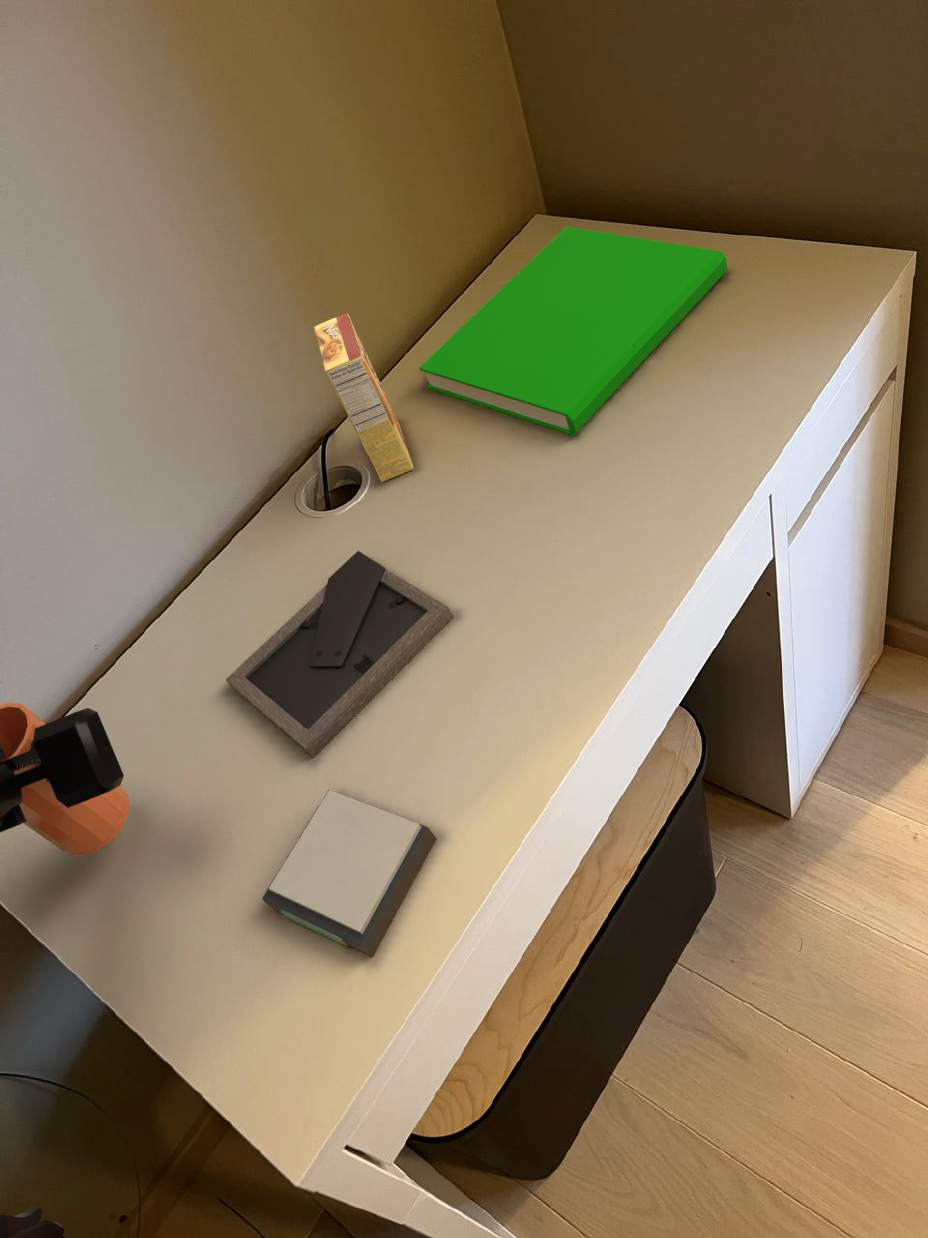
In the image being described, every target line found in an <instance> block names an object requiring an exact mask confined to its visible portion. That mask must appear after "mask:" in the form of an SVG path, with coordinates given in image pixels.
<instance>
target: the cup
mask: <svg viewBox="0 0 928 1238" xmlns="http://www.w3.org/2000/svg"><path fill="white" fill-rule="evenodd" d="M45 724H47V723H46V722H45V721H43V719H41V717H39V716H38V715H37V714H35V712H33V711H32V710H31V709H29V708H28V707H27V706H26V705H25V704H23V703H19V702H18V703H17V702H8V703H4V704H0V743H1V745H2V748H3V750H4V752H5V755H6V758H5V759H4V760H1V762H2V761H5V760H7V759H10V758H12V757H15V756H17V755H20V754H22V753H25V752H27V751H29V750H30V748H31V742H32V741H33V739H34V730H35V728H37V727H40V726H42V725H45ZM39 759H40V758H39ZM39 765H40V764H39V762H37V763H36V762H35V764H32V765H31V764H30V766H27V767H26V766H25V768H22V769H21V768H20V770H17V771H16V769H15V772H14V773H15V775H16V774H19V773H21V772H24V771H27V770H29V769H32V768H34V767H37V766H39ZM21 790H22V804H21V806H20V807H21V809H22V812H23V814H24V816H25V819H26V822H24V823H23V825H25V826H26V827H27V828H29V829H31V830H32V831H34V832H35V833H36V834H38V835H39V836H41V837H42V838H44V839H45V840H47V842H49V843H51V845H54V846H55V847H57V848H58V849H59V850H61V851H62V852H65V853H66V854H68V855H71V856H74V857H84V856H88V855H92V854H94V853H96V852H98V851H100V850H102V849H103V848H105V847H106V846H107V845H109V844H110V843H111V842H112V841H113V840H114V839H115V838H116V837H117V836H118V834H119V833H120V832H121V830H122V829H123V827H124V825H125V823H126V822H127V819H128V815H129V812H130V798H129V794H128V792H127V790H126V789H125V788H124V787H123V786H121V785H120V786H119V787H117V788H115V789H113V790H111V791H110V792H107V793H105V794H102V795H100V796H97V797H95V798H92V799H89V800H87V801H84V802H82V803H79V804H77V805H74V806H72V807H69V808H67V807H66V806H65V805H63V804H62V803H61V802H60V801H58V800H57V798H56V796H55V794H54V791H53V789H52V787H51V784H50V783H47V781H46V778H45V779H42V780H40V781H37V782H35V783H32V784H30V785H27V786H25V787H22V788H21Z"/></svg>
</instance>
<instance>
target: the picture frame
mask: <svg viewBox="0 0 928 1238" xmlns="http://www.w3.org/2000/svg"><path fill="white" fill-rule="evenodd" d="M453 618H454V616H453V614H452V612H451V610H450V607H449V606H447V605H446V604H444V603H443V602H441V601H439V600H437V599H436V598H434V597H433V596H431V595H430V594H428V593H426V592H425V591H423V590H421V589H419V588H418V587H417V586H414V585H412V584H411V583H410V582H408V581H406V580H404V579H403V578H401V577H400V576H399V575H397V574H395V573H393V572H391V571H390V570H388V569H386V567H385V566H383V565H382V564H380V563H378V562H377V561H375V560H374V559H373V558H371V557H369V556H368V555H367V554H366V555H365V553H363V552H361V551H360V550H357V551H356V552H355V553H354V554H353V555H352V556H350V557H349V558H348V559H347V561H345V562H344V563H343V564H342V565H341V566H340V567H339V568H338V569H337V570H336V571H334V572H333V574H331V576H329V577H328V578H327V581H326V585H324V586H323V587H322V588H321V589H320V590H319V591H318V592H317V593H316V594H315V595H314V596H313V597H311V599H310V600H308V601H307V602H306V604H304V605H303V606H302V607H301V608H299V610H297V612H295V614H293V616H291V617H290V619H288V620H287V621H286V622H285V623H284V624H283V625H282V626H281V627H279V629H278V630H277V631H276V632H275V633H273V634H272V635H271V636H270V637H269V638H268V639H267V640H266V641H265V642H264V643H263V644H262V645H261V646H259V647H258V648H257V649H256V650H255V651H254V652H253V653H252V654H251V655H250V656H249V657H248V658H247V659H246V660H245V661H243V663H241V664H240V665H239V666H238V667H237V668H236V669H235V670H233V672H232V673H231V674H229V676H228V677H226V678H225V681H226V683H227V684H229V686H230V687H231V688H232V689H233V690H234V691H235V692H236V693H238V695H240V696H241V697H242V698H243V699H244V700H246V701H247V702H248V703H249V704H250V705H251V706H253V708H255V709H256V710H257V711H258V712H259V713H261V715H262V716H264V718H266V719H268V721H270V723H272V724H273V725H274V726H275V727H277V728H278V729H279V730H280V731H281V732H283V733H284V734H285V735H286V736H287V737H288V738H290V740H291V741H293V742H294V743H295V744H296V745H298V746H299V747H300V748H301V749H302V750H303V751H304V752H305V753H307V754H308V755H309V756H310V757H311V758H313V759H314V758H315V757H317V756H318V754H319V753H320V752H322V750H324V748H325V747H327V745H329V743H330V742H331V741H332V740H333V739H334V738H336V736H338V734H339V733H340V732H341V731H342V730H343V729H344V728H345V727H346V726H348V724H349V723H350V722H351V721H352V720H353V719H354V718H356V716H357V715H358V714H359V713H360V712H361V711H362V710H363V709H364V708H365V707H366V706H367V705H368V704H369V703H370V702H371V701H372V700H373V699H374V698H375V697H376V696H377V695H378V694H379V693H380V692H381V691H382V690H383V689H384V688H385V687H386V686H387V685H388V684H389V683H390V682H391V681H392V680H393V679H394V678H395V677H396V676H397V675H398V674H399V673H400V672H401V671H402V670H403V669H404V668H405V667H406V666H407V665H408V664H409V663H410V662H411V660H413V659H414V657H416V656H417V654H419V652H421V650H422V649H424V648H425V647H426V645H427V644H429V643H430V642H431V641H432V640H433V638H435V636H437V634H439V633H440V632H441V631H442V629H443V628H445V626H446V625H448V623H450V621H452V620H453Z"/></svg>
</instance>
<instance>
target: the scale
mask: <svg viewBox="0 0 928 1238" xmlns="http://www.w3.org/2000/svg"><path fill="white" fill-rule="evenodd" d="M436 840H437V837H436V836H435V834H434V833H433V832H432V830H431V829H430V828H429V827H428V826H427V825H424V824H421V823H418V822H416V821H414V820H410V819H407V818H405V817H402V816H400V815H397V814H394V813H392V812H390V811H387V810H384V809H382V808H379V807H376V806H374V805H371V804H369V803H366V802H363V801H361V800H358V799H355V798H353V797H351V796H347V795H345V794H342V793H340V792H337V791H334V790H332V789H328V790H327V791H326V794H325V795H324V796H323V798H322V800H321V802H320V803H319V805H318V806H317V808H316V809H315V811H314V812H313V815H312V816H311V817H310V820H309V821H308V823H307V824H306V826H305V827H304V829H303V831H302V832H301V834H300V835H299V837H298V839H297V840H296V842H295V844H294V845H293V847H292V848H291V850H290V852H289V854H288V855H287V857H286V859H285V860H284V862H283V863H282V864H281V867H280V868H279V870H278V871H277V874H276V875H275V877H274V878H273V880H272V881H271V883H270V884H269V886H268V888H267V889H266V891H265V893H264V894H263V896H262V897H261V900H262V901H263V902H264V903H265V904H267V905H268V906H269V907H270V908H271V909H273V910H275V911H277V912H279V913H281V914H282V915H284V916H285V917H286V918H287V919H290V920H292V921H294V922H296V923H298V924H300V925H302V926H304V927H306V928H308V929H310V930H312V931H315V932H317V933H318V934H320V935H323V936H325V937H327V938H329V939H331V940H333V941H335V942H337V943H339V944H342V945H343V946H345V947H348V946H349V947H351V948H353V949H355V950H357V951H359V952H362V953H364V954H365V955H368V956H370V957H372V958H373V957H374V956H375V954H376V952H377V950H378V948H379V946H380V944H381V942H382V941H383V939H384V937H385V935H386V934H387V931H388V930H389V927H390V926H391V924H392V922H393V920H394V918H395V916H396V915H397V913H398V911H399V909H400V907H401V905H402V904H403V902H404V900H405V898H406V896H407V895H408V893H409V891H410V889H411V887H412V885H413V883H414V881H415V879H416V878H417V876H418V873H419V872H420V870H421V868H422V867H423V865H424V863H425V861H426V859H427V857H428V856H429V854H430V852H431V850H432V848H433V846H434V844H435V843H436Z"/></svg>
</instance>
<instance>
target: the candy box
mask: <svg viewBox="0 0 928 1238" xmlns="http://www.w3.org/2000/svg"><path fill="white" fill-rule="evenodd" d="M313 331H314V336H315V339H316V343H317V347H318V351H319V354H320V358H321V362H322V365H323V368H324V372H325V374H326V376H327V378H328V379H329V381H330V383H331V385H332V387H333V389H334V391H335V393H336V395H337V397H338V399H339V401H340V403H341V405H342V406H343V409H344V411H345V413H346V415H347V417H348V418H349V419H348V420H349V421H350V423H351V425H352V427H353V429H354V430H355V432H356V434H357V436H358V439H359V441H360V442H361V445H362V446H363V447H362V448H363V449H364V451H365V452H366V455H367V456H368V459H369V461H370V462H371V464H372V467H373V468H374V471H375V473H376V474H377V477H378V478H379V480H380V482H381V483H384V482H387V481H389V480H391V479H393V478H395V477H398V476H401V475H403V474H405V473H408V472H410V471H413V470H414V465H413V462H412V458H411V456H410V452H409V448H408V446H407V443H406V439H405V437H404V434H403V431H402V428H401V425H400V423H399V421H398V419H397V417H396V414H395V413H394V411H393V408H392V406H391V404H390V402H389V398H388V397H387V395H386V392H385V390H384V388H383V386H382V384H381V381H380V379H379V377H378V375H377V373H376V371H375V368H374V366H373V364H372V362H371V360H370V357H369V355H368V353H367V351H366V349H365V347H364V344H363V342H362V340H361V338H360V336H359V334H358V332H357V329H356V327H355V325H354V323H353V321H352V319H351V315H350V314H349V312H346V313H343V314H340V315H338V316H336V317H333V318H331V319H329V320H326V321H324V322H322V323H321V322H320V323H319V324H317V325H315V326H314V327H313Z"/></svg>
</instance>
